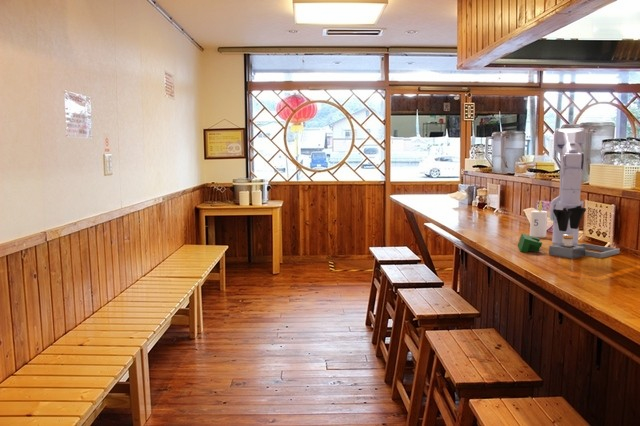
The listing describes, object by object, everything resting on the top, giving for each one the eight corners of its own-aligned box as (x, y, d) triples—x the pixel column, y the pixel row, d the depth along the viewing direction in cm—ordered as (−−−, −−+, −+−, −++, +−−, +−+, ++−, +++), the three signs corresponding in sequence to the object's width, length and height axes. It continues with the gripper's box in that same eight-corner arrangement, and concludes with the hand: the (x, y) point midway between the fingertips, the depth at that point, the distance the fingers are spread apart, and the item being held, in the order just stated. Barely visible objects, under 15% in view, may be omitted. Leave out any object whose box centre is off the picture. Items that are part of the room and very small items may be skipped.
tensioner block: (561, 254, 172) (562, 243, 172) (584, 258, 166) (585, 246, 165) (548, 257, 168) (549, 245, 167) (571, 261, 161) (572, 249, 161)
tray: (582, 249, 180) (582, 243, 179) (619, 256, 169) (619, 249, 169) (563, 254, 172) (563, 247, 172) (600, 260, 162) (601, 253, 162)
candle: (527, 236, 208) (529, 200, 206) (532, 234, 212) (534, 199, 210) (543, 238, 203) (545, 201, 201) (548, 235, 208) (550, 200, 206)
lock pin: (564, 253, 169) (566, 233, 168) (573, 255, 166) (575, 234, 165) (559, 254, 167) (561, 234, 166) (568, 256, 164) (570, 235, 164)
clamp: (533, 267, 173) (542, 246, 168) (516, 261, 174) (524, 241, 169) (534, 248, 182) (542, 228, 177) (517, 243, 184) (525, 223, 179)
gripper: (569, 187, 171) (567, 226, 173) (547, 189, 163) (545, 230, 164) (590, 188, 166) (588, 228, 167) (569, 191, 157) (566, 233, 159)
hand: (568, 229), depth 165 cm, fingers open, 7 cm apart
